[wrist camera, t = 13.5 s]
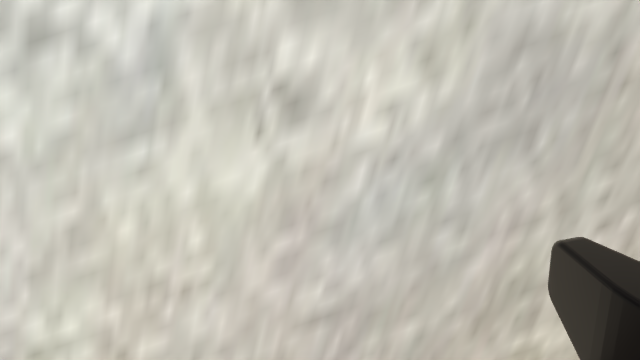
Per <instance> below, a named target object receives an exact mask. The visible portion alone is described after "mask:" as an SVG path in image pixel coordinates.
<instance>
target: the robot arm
mask: <svg viewBox="0 0 640 360" xmlns="http://www.w3.org/2000/svg"><path fill="white" fill-rule="evenodd" d="M548 290H549V295H550V298H551V301H552V303H553V305H554V307H555V309H556V311H557V313H558V315H559V317H560V319H561V321H562V323H563V325H564V328H565V330H566V332H567V334H568V336H569V338H570V340H571V342H572V344H573V346H574V348H575V350H576V352H577V354H578V356H579V358H580V360H640V261H637V260H635V259H633V258H630V257H628V256H626V255H623V254H621V253H619V252H617V251H614V250H612V249H610V248H607V247H605V246H603V245H600V244H598V243H596V242H594V241H591V240H589V239H587V238H584V237H575V238H570V239H565V240H559V241H557V242H556V243H555V244H554V245H553V247H552V251H551V260H550V270H549V280H548Z"/></svg>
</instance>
